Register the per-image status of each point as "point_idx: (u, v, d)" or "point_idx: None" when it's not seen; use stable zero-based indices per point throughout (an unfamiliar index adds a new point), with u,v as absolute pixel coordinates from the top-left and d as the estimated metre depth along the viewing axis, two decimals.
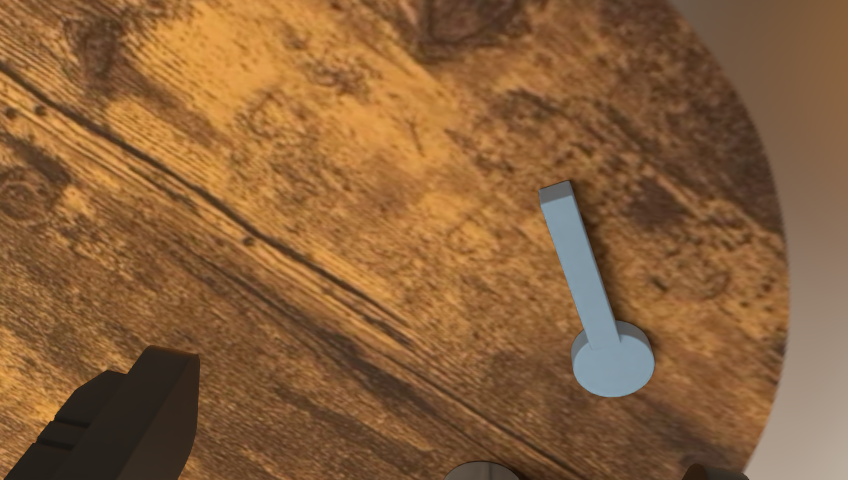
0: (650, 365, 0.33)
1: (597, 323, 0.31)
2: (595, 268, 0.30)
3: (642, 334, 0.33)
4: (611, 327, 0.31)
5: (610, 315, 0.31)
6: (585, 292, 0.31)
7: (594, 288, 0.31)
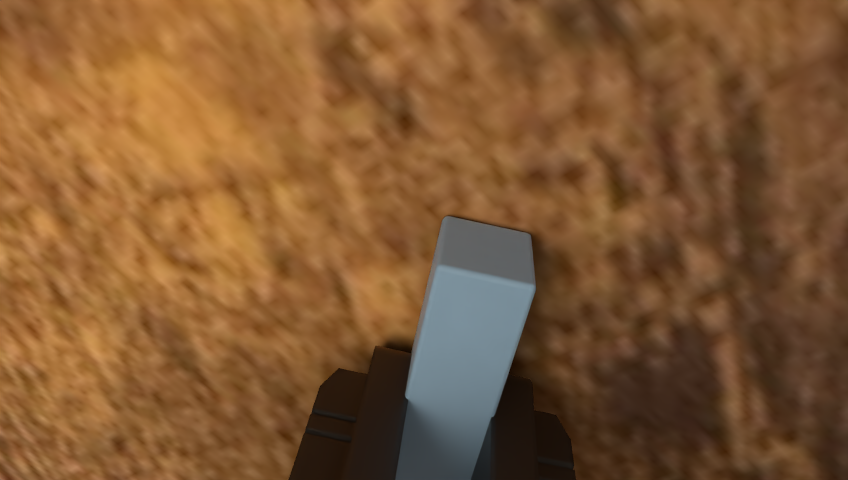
0: None
1: None
2: (471, 476, 0.11)
3: None
4: None
5: None
6: None
7: None
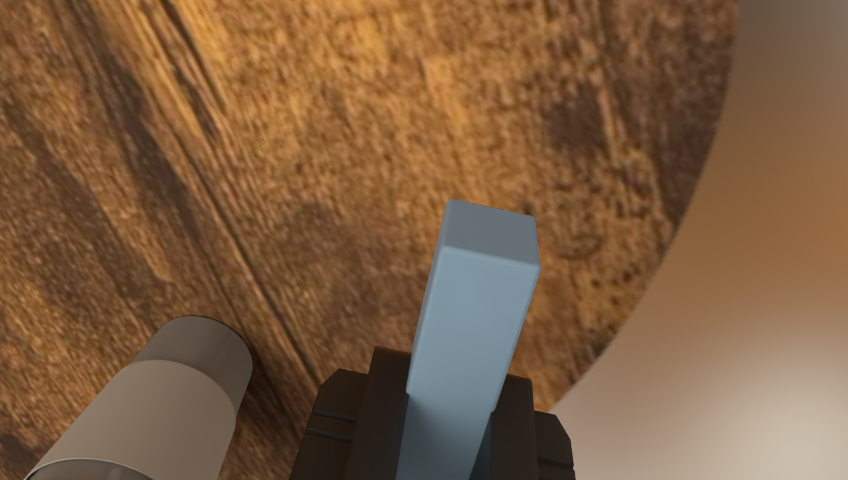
0: None
1: None
2: None
3: None
4: None
5: None
6: None
7: None
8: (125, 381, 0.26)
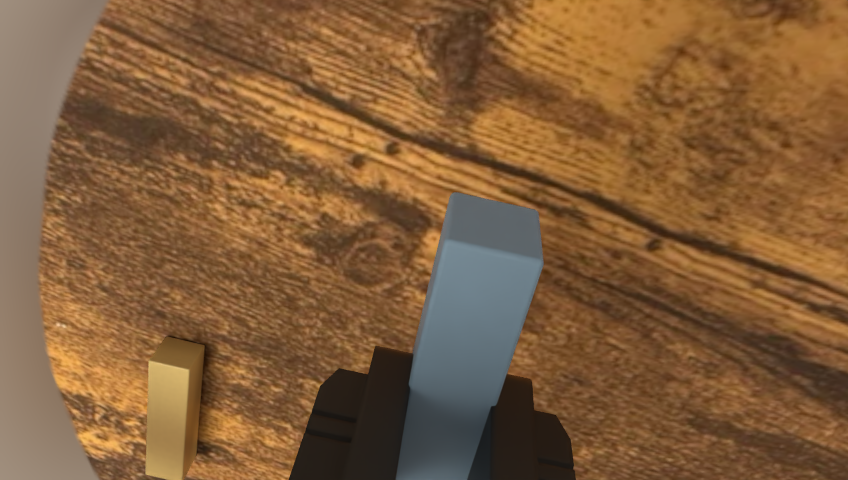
0: None
1: None
2: None
3: None
4: None
5: None
6: None
7: None
8: None
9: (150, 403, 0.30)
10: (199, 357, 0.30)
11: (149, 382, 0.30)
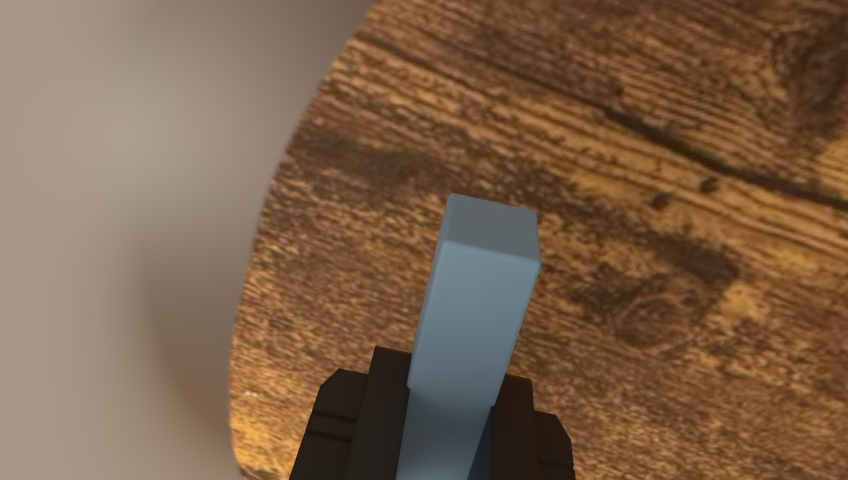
0: None
1: None
2: None
3: None
4: None
5: None
6: None
7: None
8: None
9: None
10: None
11: None
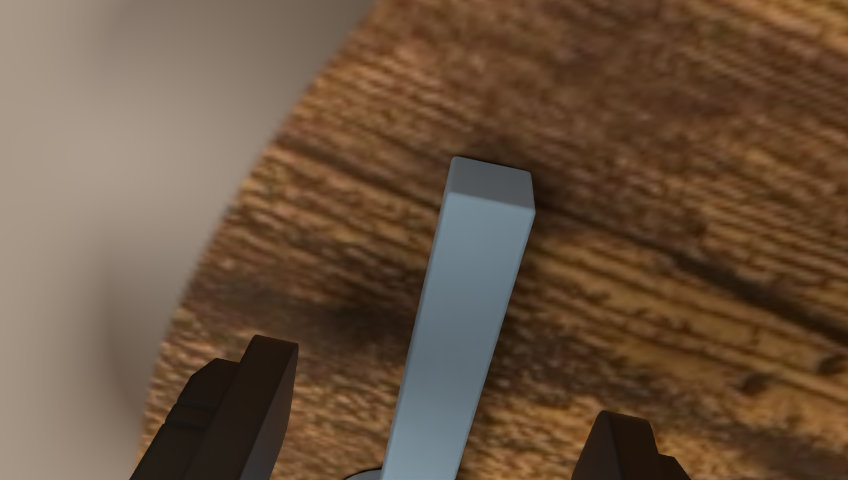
0: None
1: None
2: (478, 393, 0.12)
3: None
4: None
5: None
6: (426, 428, 0.13)
7: (449, 430, 0.13)
8: None
9: None
10: None
11: None
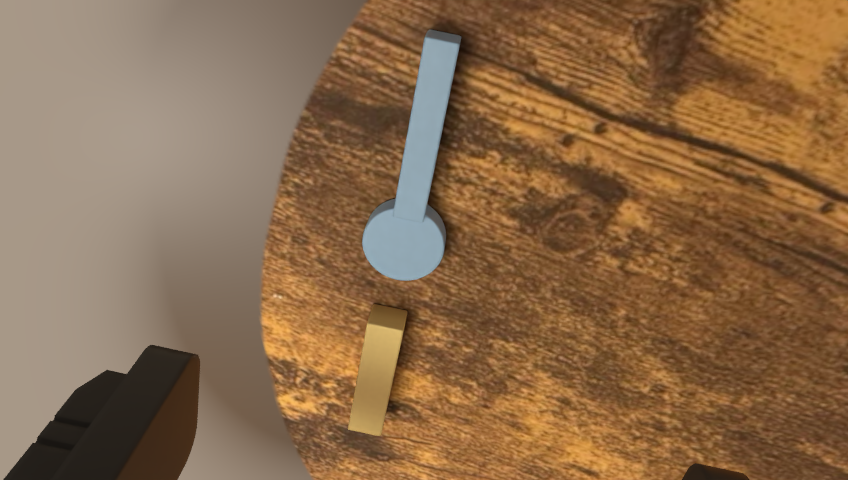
0: (436, 260, 0.32)
1: (412, 190, 0.30)
2: (440, 133, 0.29)
3: (444, 229, 0.32)
4: (422, 201, 0.30)
5: (428, 189, 0.30)
6: (418, 152, 0.29)
7: (428, 153, 0.29)
8: None
9: (363, 363, 0.34)
10: (405, 321, 0.34)
11: (365, 343, 0.34)
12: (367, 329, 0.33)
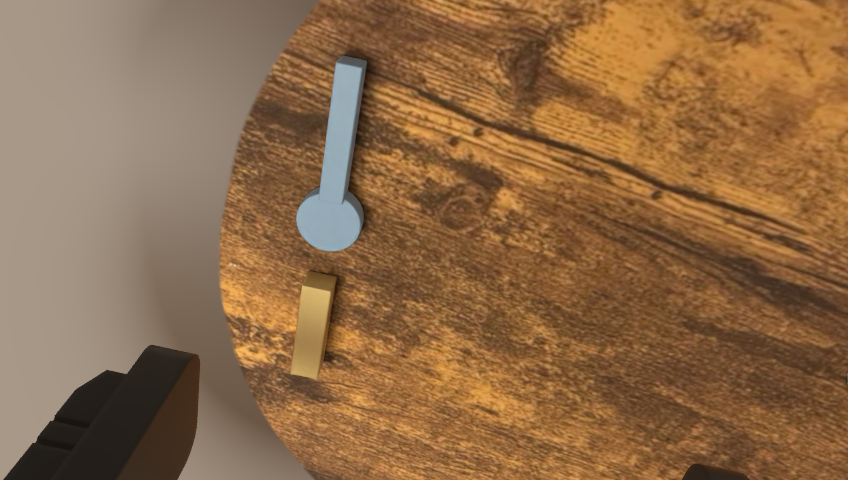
0: (354, 235, 0.40)
1: (332, 179, 0.38)
2: (351, 135, 0.37)
3: (361, 210, 0.41)
4: (341, 188, 0.39)
5: (344, 178, 0.38)
6: (335, 150, 0.38)
7: (343, 150, 0.37)
8: None
9: (300, 318, 0.43)
10: (334, 284, 0.43)
11: (301, 302, 0.42)
12: (302, 290, 0.42)
